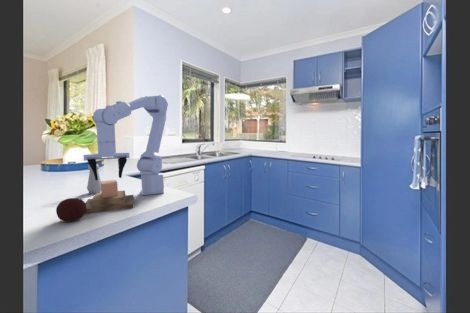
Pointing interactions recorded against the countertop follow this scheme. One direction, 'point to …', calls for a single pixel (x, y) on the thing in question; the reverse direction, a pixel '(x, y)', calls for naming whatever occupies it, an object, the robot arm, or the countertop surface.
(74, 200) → the potato
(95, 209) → the base
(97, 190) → the salt shaker
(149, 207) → the countertop surface
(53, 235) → the countertop surface
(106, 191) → the cube
